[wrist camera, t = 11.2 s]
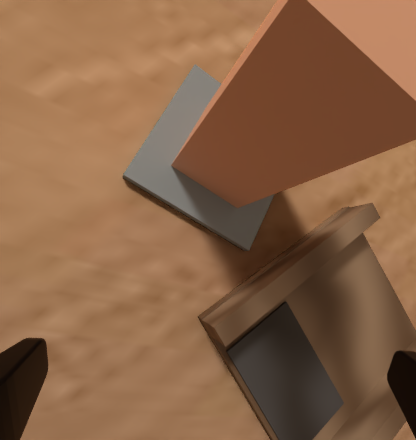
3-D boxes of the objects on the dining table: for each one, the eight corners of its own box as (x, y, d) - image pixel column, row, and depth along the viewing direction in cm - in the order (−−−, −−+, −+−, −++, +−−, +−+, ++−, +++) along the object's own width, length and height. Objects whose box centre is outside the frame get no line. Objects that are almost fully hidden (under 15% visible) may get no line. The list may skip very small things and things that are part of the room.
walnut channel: (300, 489, 18) (331, 525, 16) (197, 316, 17) (213, 325, 15) (417, 346, 23) (454, 357, 21) (342, 207, 22) (371, 201, 20)
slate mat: (244, 250, 19) (249, 250, 18) (122, 177, 17) (123, 174, 16) (293, 145, 21) (298, 142, 21) (192, 69, 19) (194, 64, 19)
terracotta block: (237, 208, 18) (444, 128, 7) (170, 165, 17) (295, -11, 6) (266, 148, 20) (479, 2, 9) (207, 104, 19) (364, -130, 7)
